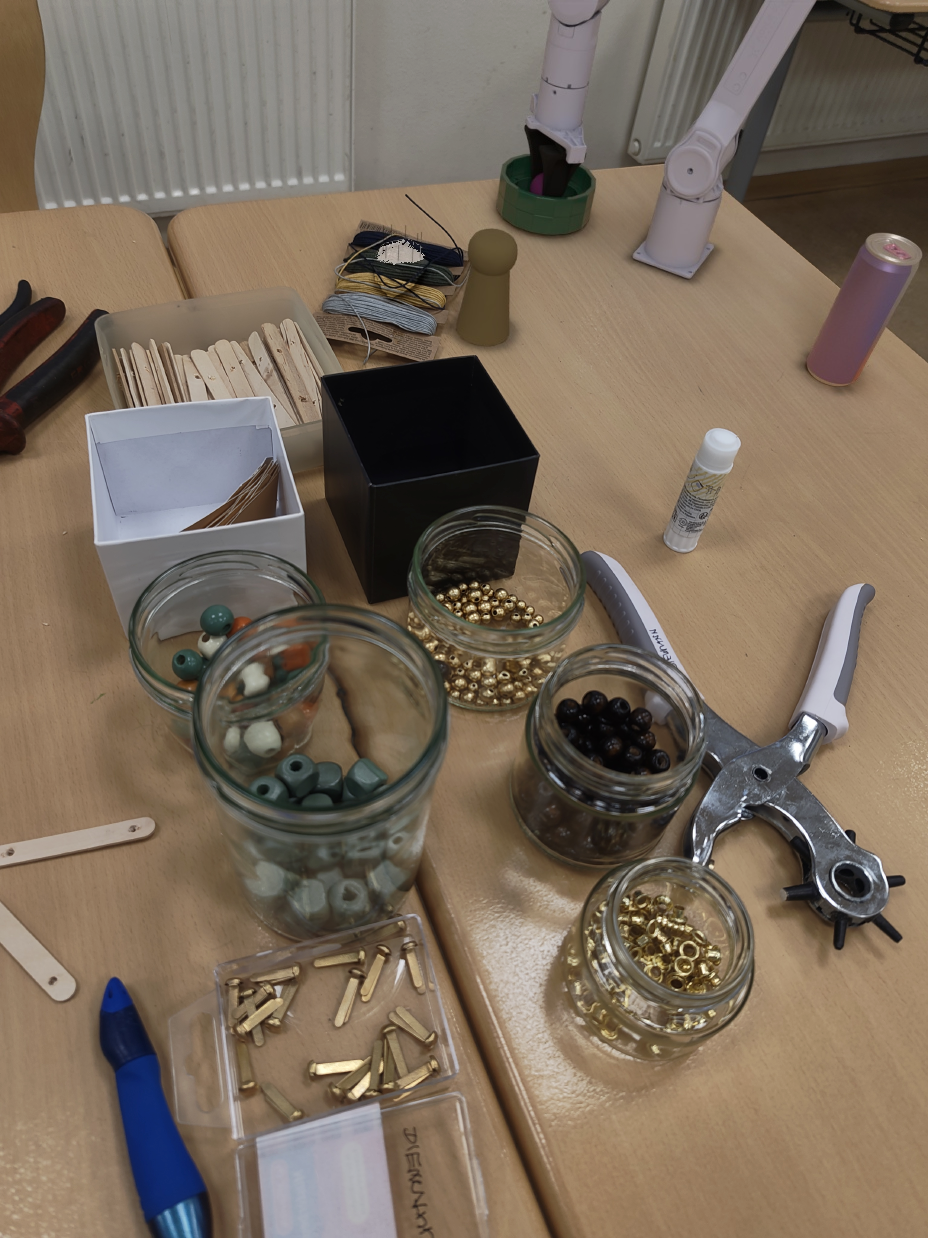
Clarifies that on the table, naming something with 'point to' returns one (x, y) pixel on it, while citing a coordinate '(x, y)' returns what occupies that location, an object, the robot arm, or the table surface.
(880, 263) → the beverage can
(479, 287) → the olive brown pawn
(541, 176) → the ball
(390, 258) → the pincushion
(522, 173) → the bowl
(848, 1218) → the table surface
